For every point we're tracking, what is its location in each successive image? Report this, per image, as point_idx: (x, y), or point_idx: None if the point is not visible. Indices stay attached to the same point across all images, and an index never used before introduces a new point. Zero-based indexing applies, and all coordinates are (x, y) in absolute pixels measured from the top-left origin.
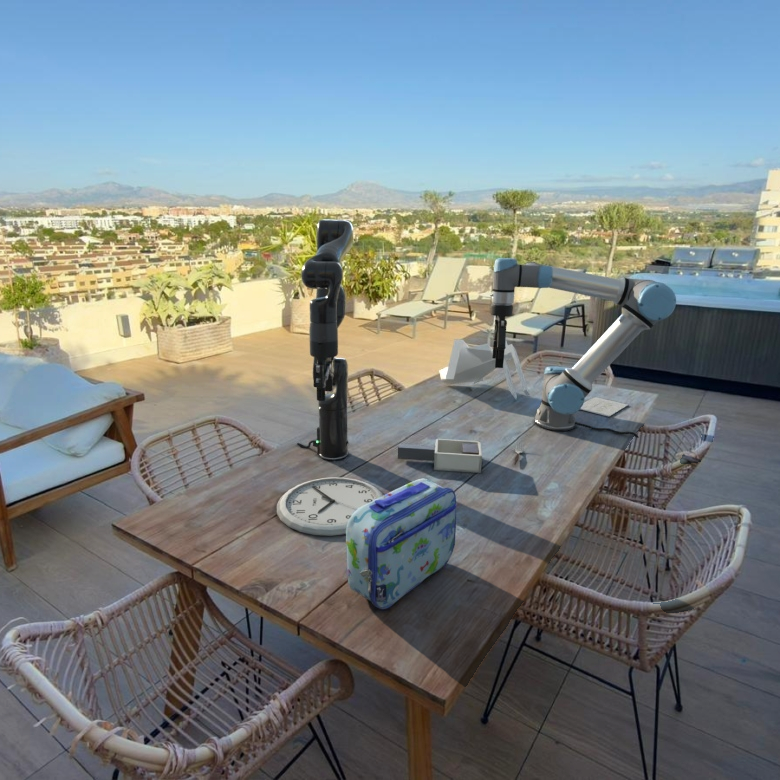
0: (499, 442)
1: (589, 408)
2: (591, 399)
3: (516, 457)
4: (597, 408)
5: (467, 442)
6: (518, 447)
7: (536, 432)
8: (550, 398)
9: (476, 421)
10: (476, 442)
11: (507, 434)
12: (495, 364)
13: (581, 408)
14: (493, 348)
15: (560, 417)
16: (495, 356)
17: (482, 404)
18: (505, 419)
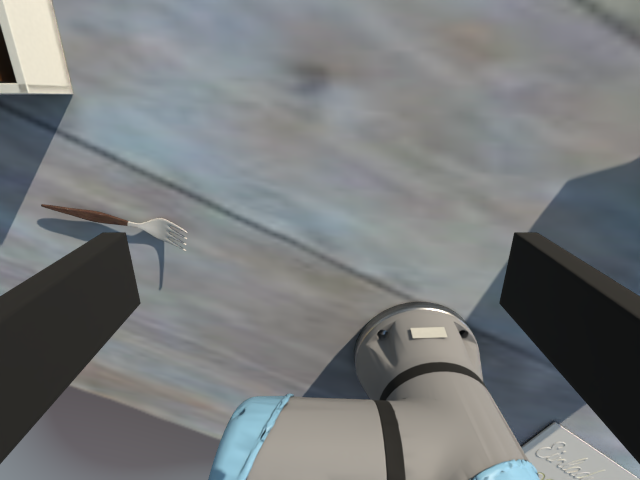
0: (226, 174)
1: (544, 455)
2: (624, 474)
3: (93, 216)
4: (543, 471)
5: (6, 36)
6: (173, 230)
7: (337, 295)
8: (233, 422)
9: (424, 99)
10: (16, 77)
11: (304, 207)
12: (81, 247)
13: (545, 438)
14: (594, 292)
15: (366, 385)
16: (519, 271)
17: (633, 135)
18: (451, 213)
